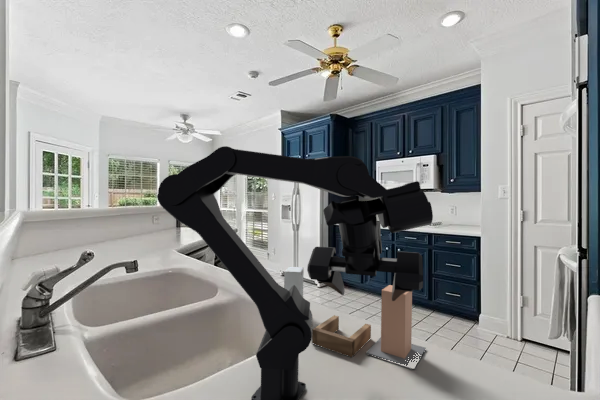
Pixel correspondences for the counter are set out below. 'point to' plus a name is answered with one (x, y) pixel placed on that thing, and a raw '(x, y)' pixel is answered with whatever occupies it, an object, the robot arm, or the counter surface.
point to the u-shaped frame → (340, 337)
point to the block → (396, 323)
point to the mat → (377, 352)
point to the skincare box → (294, 278)
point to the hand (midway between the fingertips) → (367, 295)
